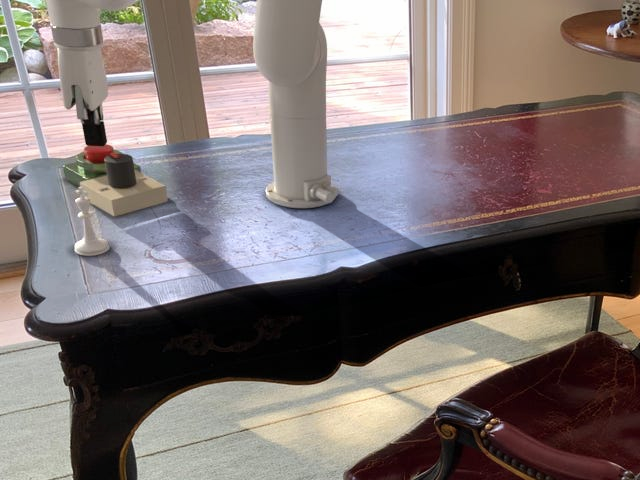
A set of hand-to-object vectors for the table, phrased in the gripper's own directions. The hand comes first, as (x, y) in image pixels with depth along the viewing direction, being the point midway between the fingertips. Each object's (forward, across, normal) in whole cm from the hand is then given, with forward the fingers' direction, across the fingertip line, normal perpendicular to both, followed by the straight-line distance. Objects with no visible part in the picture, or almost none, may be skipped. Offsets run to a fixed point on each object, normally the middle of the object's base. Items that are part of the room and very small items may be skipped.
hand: (96, 144), depth 144 cm
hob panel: (+7, +9, +6) cm, 13 cm away
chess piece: (+7, +28, +6) cm, 29 cm away
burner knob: (+4, +9, +6) cm, 11 cm away
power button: (+2, 0, 0) cm, 3 cm away
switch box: (+7, 0, 0) cm, 7 cm away
